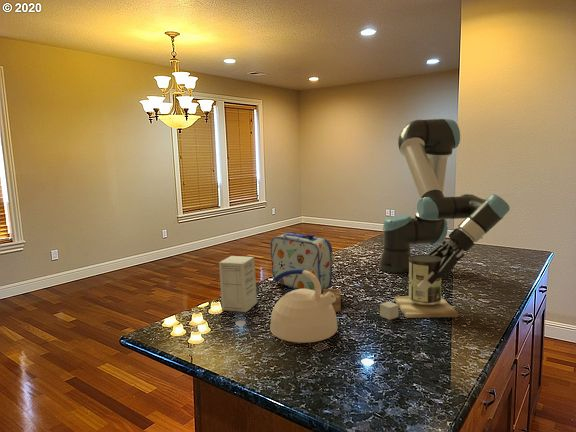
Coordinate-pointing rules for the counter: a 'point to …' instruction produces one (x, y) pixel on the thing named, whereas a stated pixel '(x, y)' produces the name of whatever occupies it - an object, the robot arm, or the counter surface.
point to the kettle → (304, 313)
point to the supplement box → (238, 283)
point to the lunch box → (302, 259)
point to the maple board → (424, 308)
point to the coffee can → (417, 273)
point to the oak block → (332, 291)
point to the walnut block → (336, 302)
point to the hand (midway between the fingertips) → (415, 283)
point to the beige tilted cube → (389, 310)
